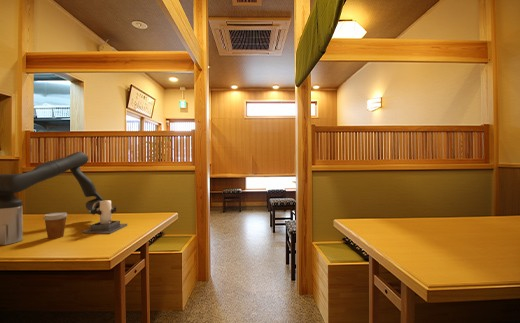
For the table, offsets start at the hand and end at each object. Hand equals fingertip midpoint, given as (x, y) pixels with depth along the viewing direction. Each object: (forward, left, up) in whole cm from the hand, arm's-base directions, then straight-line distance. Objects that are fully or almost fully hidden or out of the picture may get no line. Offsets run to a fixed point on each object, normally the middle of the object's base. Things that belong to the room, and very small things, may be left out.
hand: (106, 212), depth 136 cm
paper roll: (+2, +2, -8) cm, 8 cm away
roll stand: (+2, +2, -10) cm, 11 cm away
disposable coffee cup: (-12, +19, -11) cm, 25 cm away
